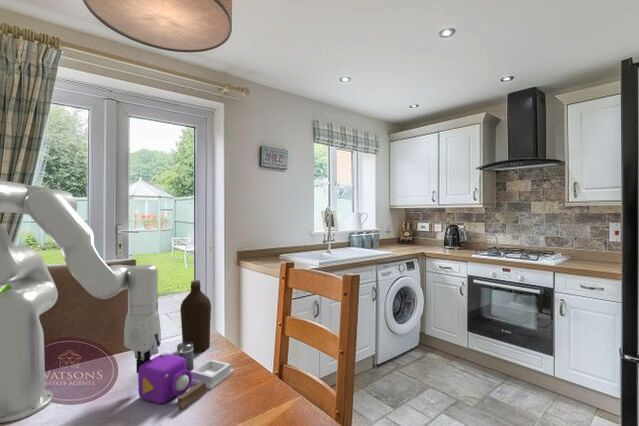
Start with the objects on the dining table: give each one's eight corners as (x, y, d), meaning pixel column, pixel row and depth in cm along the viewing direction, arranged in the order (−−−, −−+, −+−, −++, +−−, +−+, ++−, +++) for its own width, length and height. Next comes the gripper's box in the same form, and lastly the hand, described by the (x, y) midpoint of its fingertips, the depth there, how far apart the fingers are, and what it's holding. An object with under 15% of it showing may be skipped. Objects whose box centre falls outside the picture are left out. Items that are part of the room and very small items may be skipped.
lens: (173, 371, 101) (173, 346, 101) (185, 364, 106) (185, 340, 106) (185, 374, 99) (184, 349, 99) (197, 367, 104) (196, 343, 104)
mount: (187, 382, 95) (187, 372, 95) (211, 366, 104) (211, 357, 104) (211, 389, 92) (210, 378, 91) (233, 372, 101) (233, 363, 101)
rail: (177, 409, 83) (177, 397, 83) (201, 391, 90) (201, 381, 90) (182, 410, 82) (182, 398, 82) (205, 392, 90) (205, 382, 90)
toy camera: (177, 410, 82) (176, 371, 82) (131, 403, 85) (131, 366, 85) (201, 386, 93) (200, 352, 93) (160, 381, 96) (159, 348, 95)
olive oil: (205, 354, 113) (204, 284, 112) (175, 354, 113) (174, 284, 113) (215, 342, 124) (214, 277, 123) (188, 341, 124) (187, 277, 123)
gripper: (113, 308, 91) (113, 372, 92) (150, 316, 85) (150, 383, 86) (137, 301, 98) (137, 360, 99) (172, 308, 92) (173, 370, 93)
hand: (143, 371), depth 92 cm, fingers closed
